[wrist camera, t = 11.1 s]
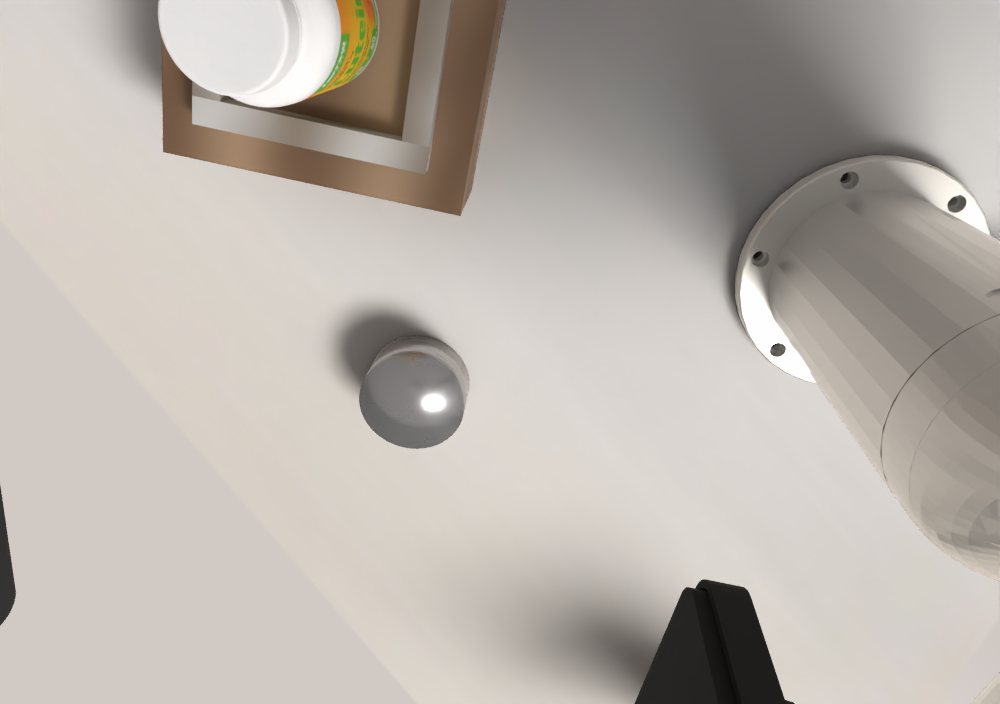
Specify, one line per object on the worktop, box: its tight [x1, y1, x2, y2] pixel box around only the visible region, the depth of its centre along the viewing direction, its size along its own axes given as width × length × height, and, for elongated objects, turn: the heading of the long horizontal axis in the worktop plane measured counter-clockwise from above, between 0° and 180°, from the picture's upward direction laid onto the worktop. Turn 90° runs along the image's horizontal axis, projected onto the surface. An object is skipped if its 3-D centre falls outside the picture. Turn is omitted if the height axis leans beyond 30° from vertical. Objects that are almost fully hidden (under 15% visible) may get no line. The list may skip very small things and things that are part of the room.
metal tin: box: [359, 335, 469, 448], centre depth 42 cm, size 6×6×3 cm
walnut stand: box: [162, 0, 506, 216], centre depth 32 cm, size 14×14×6 cm
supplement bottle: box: [158, 0, 380, 107], centre depth 26 cm, size 5×5×10 cm
